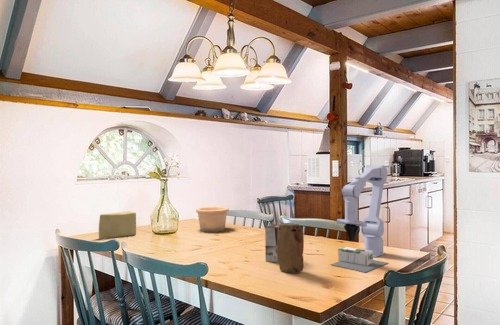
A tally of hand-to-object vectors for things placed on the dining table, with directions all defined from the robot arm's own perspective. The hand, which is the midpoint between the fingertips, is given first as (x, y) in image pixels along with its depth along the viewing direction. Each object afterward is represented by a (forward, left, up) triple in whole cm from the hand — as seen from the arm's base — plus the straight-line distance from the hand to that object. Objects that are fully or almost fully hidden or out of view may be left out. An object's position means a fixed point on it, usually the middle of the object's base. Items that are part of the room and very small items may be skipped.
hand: (351, 240), depth 177 cm
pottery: (-8, -112, -10) cm, 112 cm away
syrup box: (0, -6, -7) cm, 9 cm away
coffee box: (+20, -29, -10) cm, 36 cm away
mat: (0, +4, -10) cm, 11 cm away
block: (+29, -12, -10) cm, 33 cm away
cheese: (+47, -138, -10) cm, 146 cm away
